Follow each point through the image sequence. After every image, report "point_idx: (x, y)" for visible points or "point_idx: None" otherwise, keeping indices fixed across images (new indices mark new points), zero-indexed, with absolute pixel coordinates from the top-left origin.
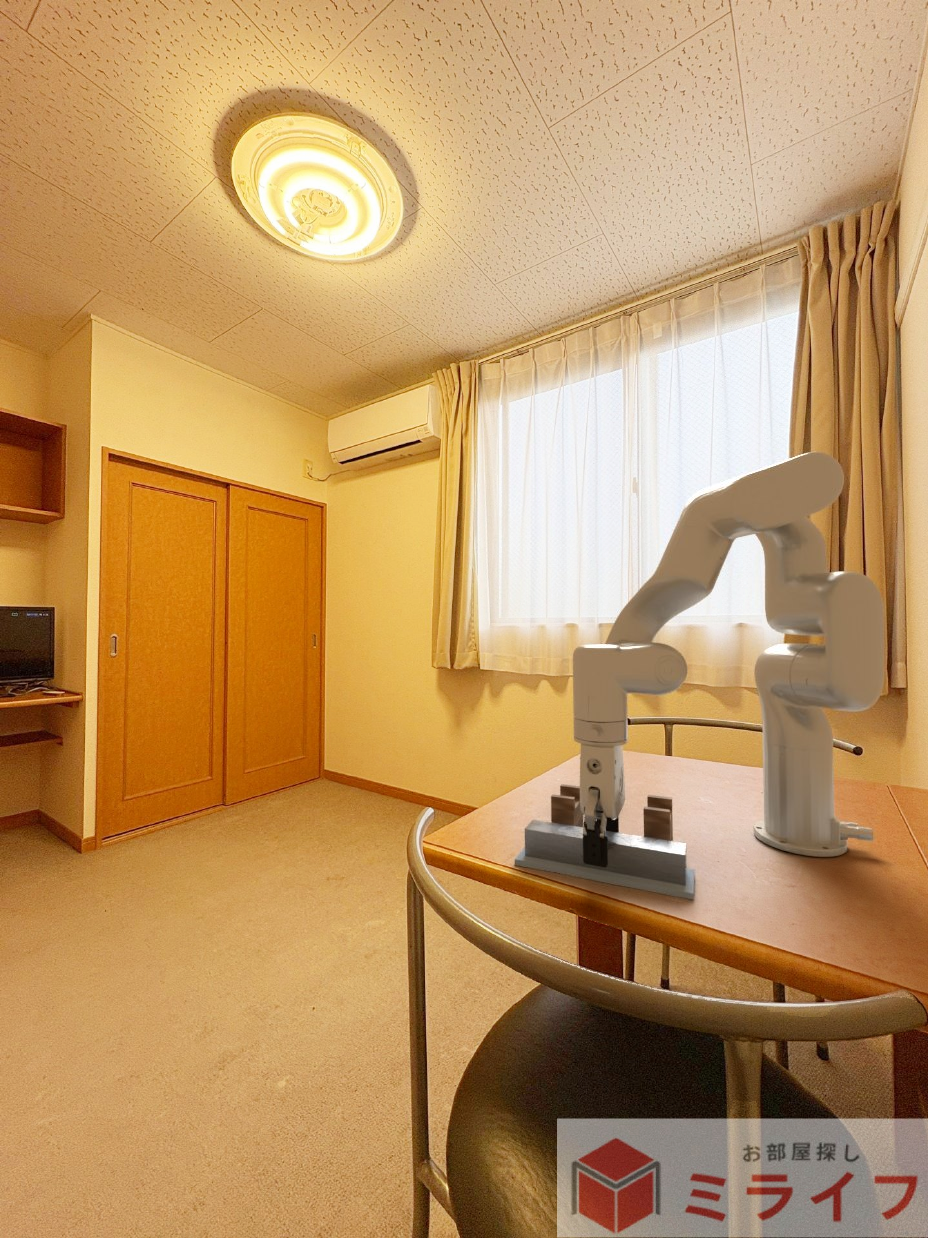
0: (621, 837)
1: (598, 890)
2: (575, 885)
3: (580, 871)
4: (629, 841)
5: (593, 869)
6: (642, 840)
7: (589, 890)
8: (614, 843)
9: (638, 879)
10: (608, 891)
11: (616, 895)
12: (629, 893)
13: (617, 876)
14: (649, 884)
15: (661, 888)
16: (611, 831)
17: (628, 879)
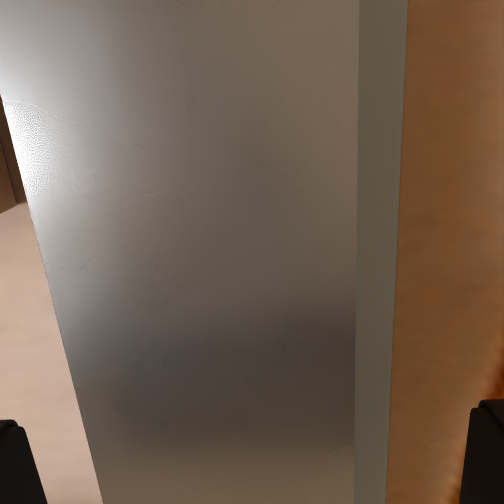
0: (187, 436)
1: (474, 353)
2: (460, 446)
3: (384, 469)
4: (240, 364)
5: None
6: (153, 260)
7: (488, 387)
8: (348, 460)
9: None
10: (468, 311)
11: (499, 268)
12: (454, 212)
13: (363, 306)
14: (392, 115)
15: (403, 31)
16: (4, 495)
17: (379, 244)
